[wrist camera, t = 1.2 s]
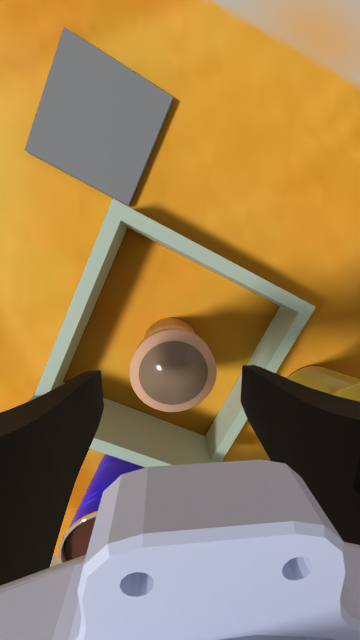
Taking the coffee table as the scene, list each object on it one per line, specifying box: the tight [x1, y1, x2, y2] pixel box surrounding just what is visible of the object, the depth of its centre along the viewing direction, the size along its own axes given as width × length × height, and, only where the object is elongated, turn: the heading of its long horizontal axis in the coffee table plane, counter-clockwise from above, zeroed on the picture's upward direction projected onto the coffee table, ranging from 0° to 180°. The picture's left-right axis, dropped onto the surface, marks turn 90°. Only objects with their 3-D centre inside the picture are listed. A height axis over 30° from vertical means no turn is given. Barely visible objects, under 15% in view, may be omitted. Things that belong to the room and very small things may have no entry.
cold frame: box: [28, 199, 316, 467], centre depth 18 cm, size 17×17×5 cm
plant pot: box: [287, 366, 360, 402], centre depth 18 cm, size 10×10×10 cm
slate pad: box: [25, 27, 173, 206], centre depth 16 cm, size 8×8×1 cm
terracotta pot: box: [130, 318, 217, 412], centre depth 18 cm, size 6×6×6 cm
